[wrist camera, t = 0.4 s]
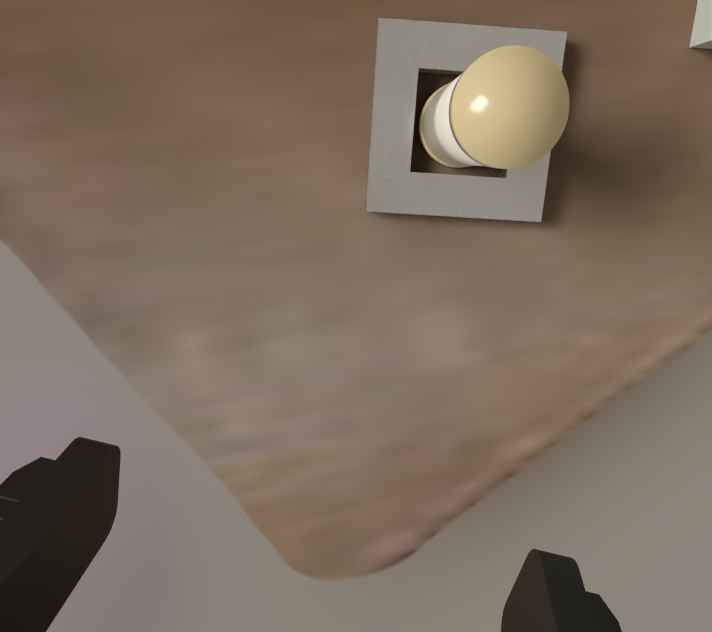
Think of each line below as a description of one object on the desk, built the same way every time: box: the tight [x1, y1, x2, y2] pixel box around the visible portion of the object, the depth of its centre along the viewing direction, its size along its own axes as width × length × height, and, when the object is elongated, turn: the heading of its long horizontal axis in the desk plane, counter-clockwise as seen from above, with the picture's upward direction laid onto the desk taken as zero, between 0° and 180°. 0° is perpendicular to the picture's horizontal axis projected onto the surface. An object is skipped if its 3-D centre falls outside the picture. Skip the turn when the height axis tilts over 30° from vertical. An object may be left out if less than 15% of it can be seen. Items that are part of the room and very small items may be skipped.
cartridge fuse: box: [418, 45, 570, 169], centre depth 29 cm, size 5×5×11 cm
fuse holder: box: [365, 18, 567, 222], centre depth 33 cm, size 10×10×2 cm
